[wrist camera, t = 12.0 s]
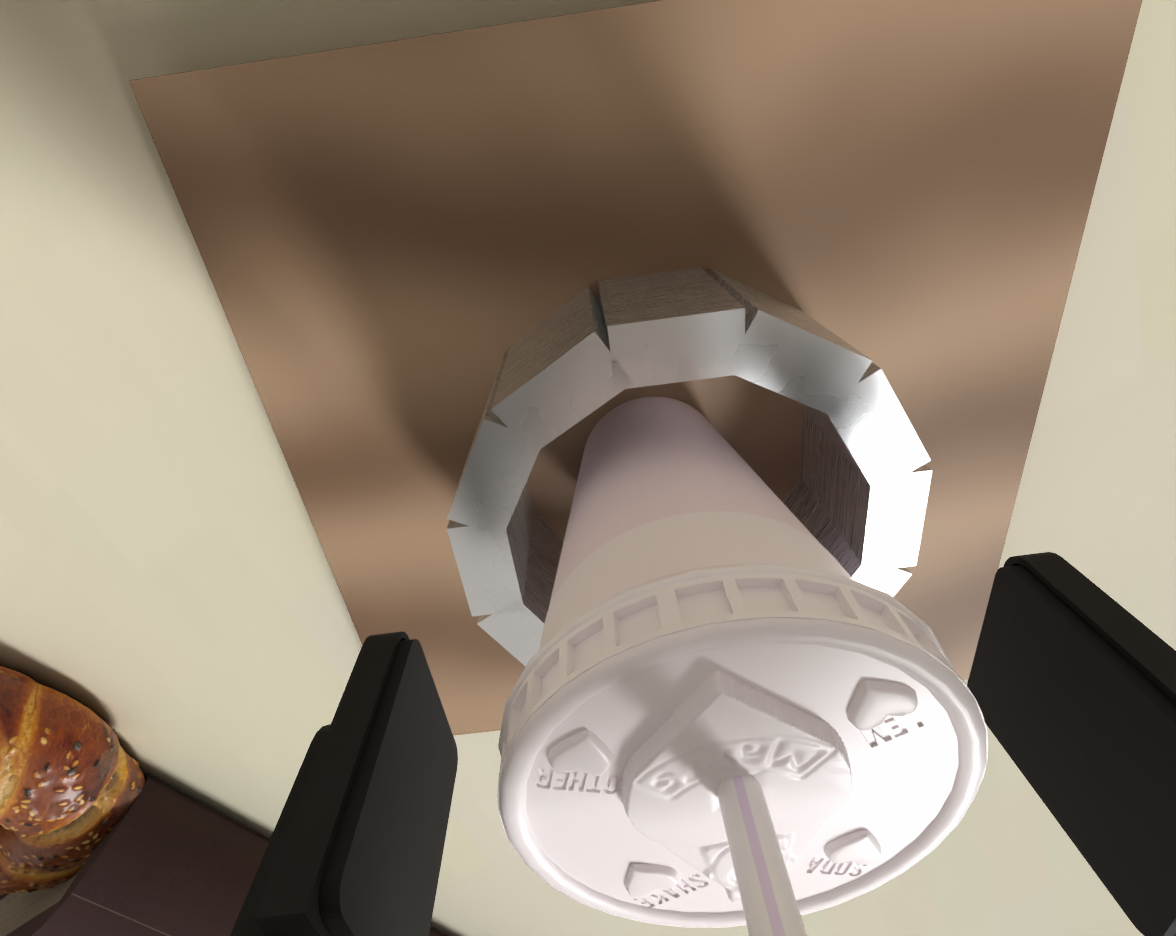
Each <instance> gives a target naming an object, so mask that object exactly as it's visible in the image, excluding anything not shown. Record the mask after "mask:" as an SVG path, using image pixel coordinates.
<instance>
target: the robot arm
mask: <svg viewBox="0 0 1176 936" xmlns="http://www.w3.org/2000/svg"><path fill="white" fill-rule="evenodd" d="M967 687H968V688H969V690H970V691H971V693H972V694H973V696H974V697H975V699H976V701H977V703H978V705H979V707H980V709H981V711H982V714H983V717H984V721H985V723H986V724H987V726H988V727H989V729H990V730H991V731H992V733H993V734H994V735H995V737H996V738H997V739H998V741H999V742H1000V743H1001V745H1002V746H1003V748H1004V749H1005V750H1006V752H1007V753H1008V754H1009V756H1010V757H1011V758H1012V760H1013V761H1014V763H1015V764H1016V765H1017V767H1018V768H1019V769H1020V771H1021V772H1022V773H1023V775H1024V776H1025V778H1026V779H1027V780H1028V782H1029V783H1030V784H1031V786H1032V787H1033V788H1034V790H1035V791H1036V793H1037V794H1038V795H1039V797H1040V798H1041V799H1042V801H1043V802H1044V803H1045V805H1046V806H1047V807H1048V809H1049V810H1050V812H1051V813H1052V814H1053V816H1054V817H1055V818H1056V820H1057V821H1058V822H1059V824H1060V825H1061V827H1062V828H1063V829H1064V831H1065V832H1066V833H1067V835H1068V836H1069V837H1070V839H1071V840H1072V842H1073V843H1074V844H1075V846H1076V847H1077V848H1078V850H1079V851H1080V852H1081V854H1082V855H1083V856H1084V858H1085V859H1086V861H1087V862H1088V863H1089V865H1090V866H1091V867H1092V869H1093V870H1094V871H1095V873H1096V874H1097V876H1098V877H1099V878H1100V880H1101V881H1102V882H1103V884H1104V885H1105V886H1106V888H1107V889H1108V891H1109V892H1110V893H1111V895H1112V896H1113V897H1114V899H1115V900H1116V901H1117V903H1118V904H1119V906H1120V907H1121V908H1122V910H1123V911H1124V912H1125V914H1126V915H1127V916H1128V918H1129V919H1130V920H1131V922H1132V923H1133V924H1134V925H1135V927H1136V928H1137V929H1138V930H1139V931H1140V932H1141V933H1142V934H1143V935H1144V936H1176V651H1175V650H1174V649H1173V648H1172V647H1170V646H1169V645H1168V644H1167V643H1165V642H1164V641H1163V640H1162V639H1161V638H1159V637H1158V636H1157V635H1156V634H1154V633H1153V632H1152V631H1151V630H1150V629H1148V628H1147V627H1146V626H1145V625H1144V624H1142V623H1141V622H1140V621H1139V620H1137V619H1136V618H1135V617H1134V616H1133V615H1131V614H1130V613H1129V612H1128V611H1127V610H1125V609H1124V608H1123V607H1122V606H1120V605H1119V604H1118V603H1117V602H1116V601H1114V600H1113V599H1112V598H1111V597H1109V596H1108V595H1107V594H1106V593H1105V592H1103V591H1102V590H1101V589H1100V588H1099V587H1097V586H1096V585H1095V584H1094V583H1092V582H1091V581H1090V580H1089V579H1088V578H1086V577H1085V576H1084V575H1083V574H1082V573H1080V572H1079V571H1078V570H1077V569H1075V568H1074V567H1073V566H1072V565H1071V564H1069V563H1068V562H1067V561H1066V560H1064V559H1063V558H1062V557H1060V556H1059V555H1057V554H1055V553H1051V552H1046V553H1038V554H1030V555H1022V556H1014V557H1010V558H1009V559H1008V560H1007V561H1006V562H1005V564H1004V567H1002V568H999V569H998V570H997V572H996V574H995V578H994V582H993V585H992V589H991V593H990V597H989V601H988V605H987V609H986V613H985V617H984V621H983V625H982V628H981V632H980V636H979V640H978V644H977V648H976V652H975V656H974V660H973V664H972V667H971V671H970V675H969V679H968V684H967ZM457 761H458V756H457V746H456V743H455V740H454V737H453V734H452V731H451V728H450V726H449V723H448V720H447V717H446V714H445V711H444V709H443V706H442V703H441V700H440V697H439V694H438V692H437V689H436V686H435V683H434V680H433V678H432V675H431V672H430V669H429V666H428V663H427V661H426V658H425V655H424V652H423V649H422V646H421V644H420V642H419V640H418V639H411V640H410V639H409V637H408V635H407V634H406V633H405V632H394V633H385V634H377V635H369V636H368V637H367V638H366V639H365V641H364V643H363V646H362V648H361V651H360V653H359V656H358V658H357V661H356V663H355V666H354V668H353V671H352V673H351V676H350V678H349V681H348V683H347V686H346V688H345V691H344V693H343V696H342V698H341V701H340V703H339V706H338V708H337V711H336V713H335V716H334V718H333V721H332V723H331V725H326V726H323V727H322V728H321V729H320V730H319V731H318V732H317V733H316V735H315V736H314V738H313V740H312V742H311V744H310V747H309V749H308V751H307V754H306V756H305V758H304V761H303V763H302V766H301V768H300V770H299V773H298V775H297V777H296V780H295V782H294V785H293V787H292V789H291V792H290V794H289V796H288V799H287V801H286V804H285V806H284V808H283V811H282V813H281V816H280V818H279V820H278V823H277V825H276V827H275V830H274V832H273V835H272V837H271V839H270V842H269V844H268V846H267V849H266V851H265V854H264V856H263V858H262V861H261V863H260V865H259V868H258V870H257V873H256V875H255V877H254V880H253V882H252V884H251V887H250V889H249V892H248V894H247V896H246V899H245V901H244V904H243V906H242V908H241V911H240V913H239V915H238V918H237V920H236V923H235V925H234V927H233V930H232V932H231V934H230V936H429V931H430V925H431V919H432V913H433V907H434V901H435V895H436V890H437V884H438V878H439V872H440V866H441V860H442V854H443V848H444V842H445V836H446V830H447V824H448V818H449V812H450V807H451V801H452V795H453V789H454V783H455V777H456V771H457Z"/></svg>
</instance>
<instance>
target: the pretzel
mask: <svg viewBox="0 0 1176 936" xmlns="http://www.w3.org/2000/svg"><path fill="white" fill-rule="evenodd" d="M144 784H145V778H144V776H143V772H142V771H141V769H140V768H139V763H138V762H137V761H135V759H134V758H132V757H130V756H129V755H128V754H127V753H126V752H125V751H124V750H123V748H122V747H121V746H120V745H119V741H118V737H117V736H116V734H115V729H112V728H111V727H110V726H109V725H108V724H107V723H106V722H105V721H104V720H102V719H101V718H100V717H99V716H98V715H96V714H95V713H94V712H93V711H92V710H90V709H89V708H87V707H86V706H84V705H82V704H81V703H79V702H78V701H76V700H74V699H72V698H70V697H69V696H67V695H65V694H63V693H61V692H58V691H56V690H54V689H52V688H50V687H47V686H44V685H41V684H39V683H37V682H36V681H34V680H33V679H31V678H30V677H28V676H27V675H24V674H22V673H20V672H17V671H14V670H11V669H8V668H5V667H2V666H0V897H3V896H5V895H6V894H7V893H12V894H13V893H16V892H22V893H28V892H29V893H31V892H35V891H37V890H46V889H52V888H54V887H55V886H56V885H58V884H62V883H64V882H66V881H68V880H70V879H71V878H72V877H73V876H74V875H75V874H76V873H77V872H78V871H79V870H80V869H81V868H82V867H83V866H84V864H85V863H86V861H87V860H88V858H89V857H90V855H91V854H92V852H93V851H94V850H95V848H96V847H97V845H98V844H99V842H100V841H101V840H102V839H103V838H104V837H105V836H106V835H107V834H108V833H109V832H110V831H111V830H112V829H113V828H114V826H115V825H116V824H117V822H118V821H119V820H120V819H121V818H122V816H123V815H124V814H125V813H126V811H127V810H128V809H129V808H130V806H131V805H132V804H133V802H134V801H135V800H136V798H137V797H138V795H139V794H140V793H141V792H142V789H143V786H144Z"/></svg>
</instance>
